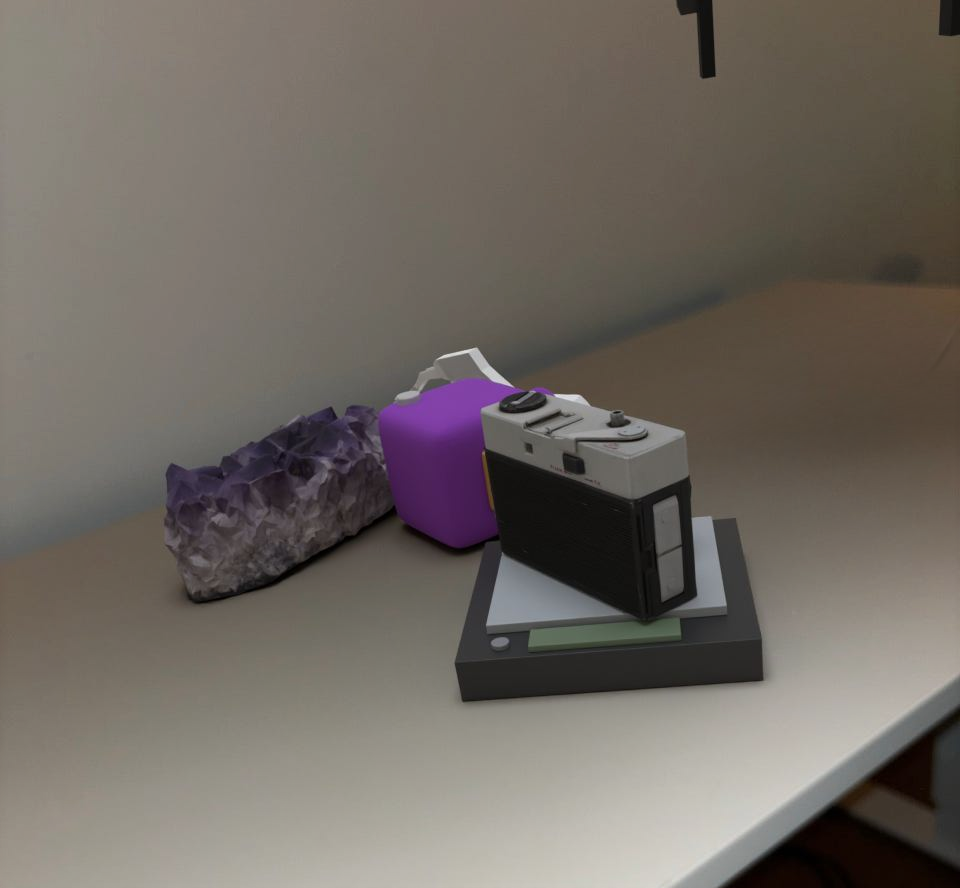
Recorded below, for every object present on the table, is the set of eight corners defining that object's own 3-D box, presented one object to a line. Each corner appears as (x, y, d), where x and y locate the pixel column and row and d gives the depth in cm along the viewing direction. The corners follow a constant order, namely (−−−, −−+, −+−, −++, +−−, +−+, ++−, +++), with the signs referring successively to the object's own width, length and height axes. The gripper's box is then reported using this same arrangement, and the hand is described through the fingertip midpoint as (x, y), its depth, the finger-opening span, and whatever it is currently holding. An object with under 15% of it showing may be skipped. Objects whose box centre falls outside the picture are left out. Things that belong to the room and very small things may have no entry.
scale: (737, 553, 68) (735, 508, 66) (763, 680, 55) (761, 628, 54) (491, 575, 71) (484, 533, 69) (462, 701, 58) (452, 652, 56)
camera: (758, 575, 58) (744, 400, 53) (618, 639, 55) (589, 460, 50) (620, 505, 69) (598, 355, 64) (498, 555, 67) (465, 403, 62)
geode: (262, 619, 71) (201, 481, 66) (159, 613, 78) (98, 488, 74) (439, 488, 84) (398, 366, 80) (337, 493, 91) (294, 381, 87)
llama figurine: (443, 495, 101) (592, 432, 89) (384, 387, 98) (530, 308, 86) (453, 487, 102) (601, 425, 90) (395, 381, 100) (540, 302, 88)
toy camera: (606, 491, 80) (592, 360, 75) (478, 564, 72) (453, 424, 68) (505, 469, 87) (487, 349, 82) (379, 534, 80) (350, 406, 75)
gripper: (1079, -480, 52) (1037, 15, 63) (572, -354, 57) (612, 89, 67) (1142, -548, 46) (1084, 16, 56) (566, -399, 50) (610, 97, 61)
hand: (827, 57), depth 62 cm, fingers open, 13 cm apart
